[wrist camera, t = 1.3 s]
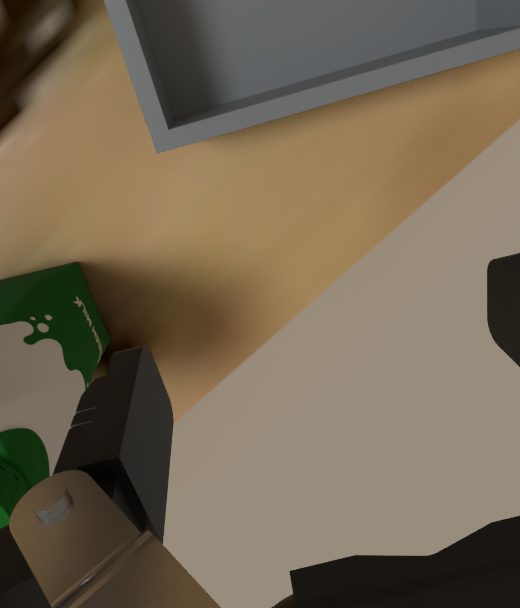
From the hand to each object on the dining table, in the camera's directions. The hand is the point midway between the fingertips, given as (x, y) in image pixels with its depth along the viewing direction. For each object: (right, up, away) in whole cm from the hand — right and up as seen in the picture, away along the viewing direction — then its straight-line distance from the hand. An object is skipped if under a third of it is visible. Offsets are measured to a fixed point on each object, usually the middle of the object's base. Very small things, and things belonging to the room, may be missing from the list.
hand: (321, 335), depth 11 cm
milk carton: (-18, 0, +27) cm, 32 cm away
